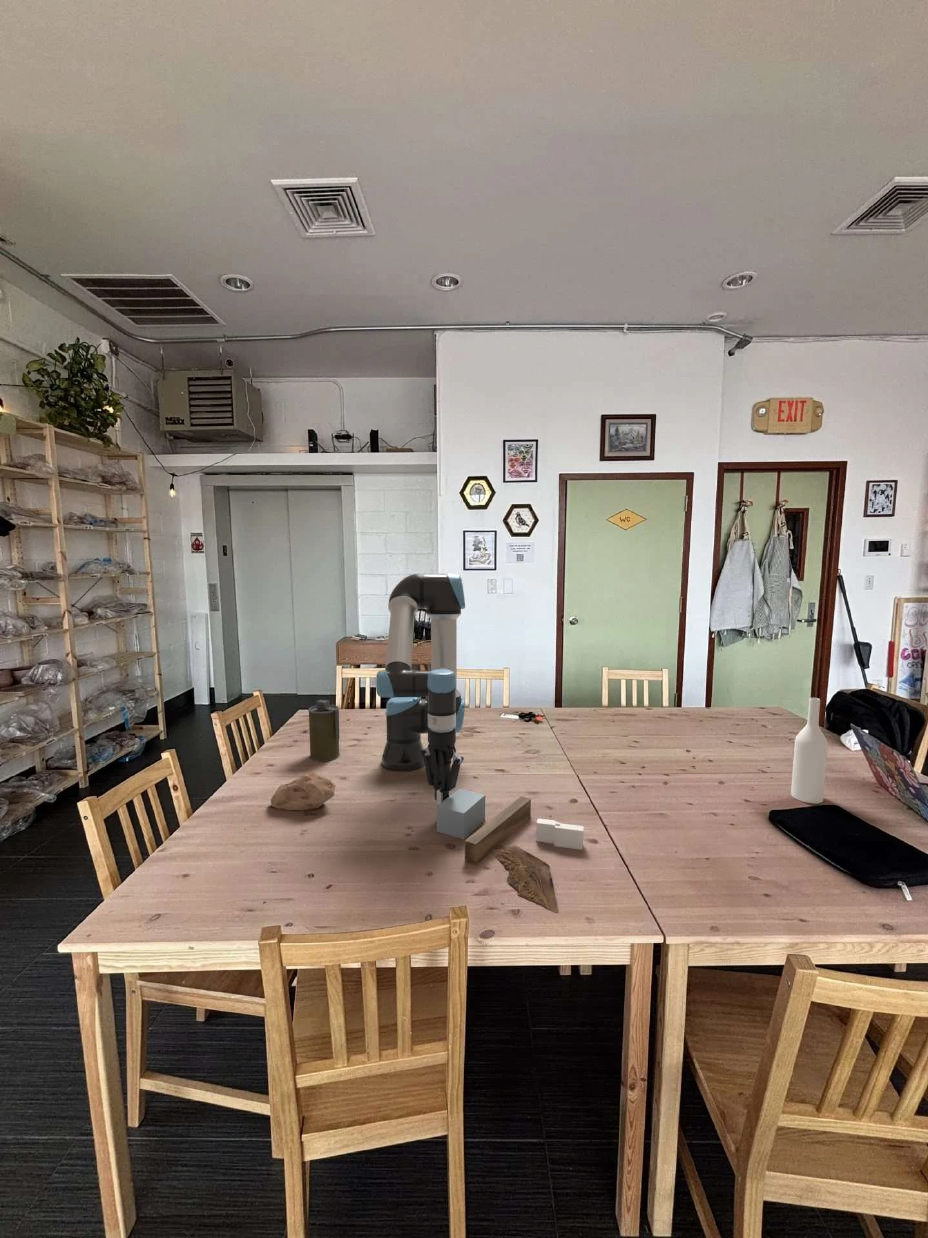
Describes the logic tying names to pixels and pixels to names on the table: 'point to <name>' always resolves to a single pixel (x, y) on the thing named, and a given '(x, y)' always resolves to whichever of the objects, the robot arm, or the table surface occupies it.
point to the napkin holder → (560, 834)
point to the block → (460, 813)
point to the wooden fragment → (529, 876)
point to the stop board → (497, 830)
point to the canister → (324, 731)
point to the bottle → (810, 759)
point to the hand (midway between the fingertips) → (441, 812)
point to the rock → (304, 793)
